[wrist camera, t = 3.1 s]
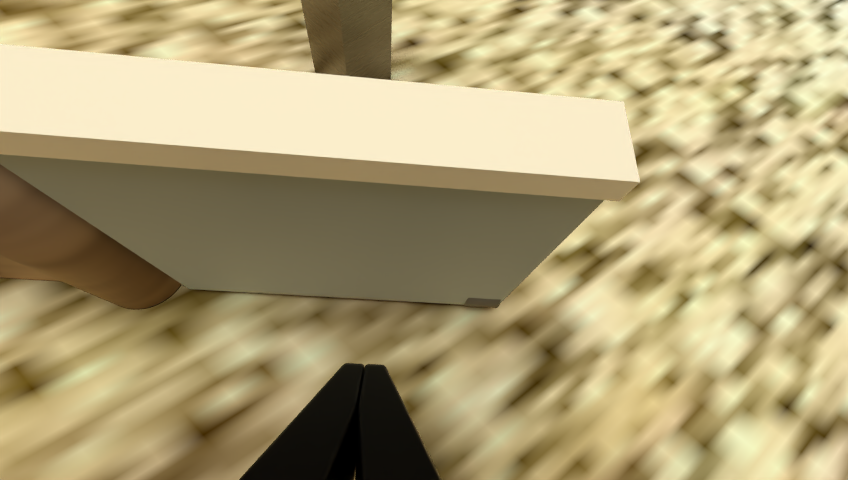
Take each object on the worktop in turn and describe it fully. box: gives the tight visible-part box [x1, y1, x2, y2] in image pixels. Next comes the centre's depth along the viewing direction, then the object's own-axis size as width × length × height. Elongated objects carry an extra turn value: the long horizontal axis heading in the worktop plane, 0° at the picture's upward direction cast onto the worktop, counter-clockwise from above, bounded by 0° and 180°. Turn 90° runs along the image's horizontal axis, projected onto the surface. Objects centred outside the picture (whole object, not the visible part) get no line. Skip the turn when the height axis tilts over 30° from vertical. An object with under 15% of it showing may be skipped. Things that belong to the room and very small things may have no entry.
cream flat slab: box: [0, 44, 640, 308], centre depth 12 cm, size 12×2×10 cm, turn 88°
